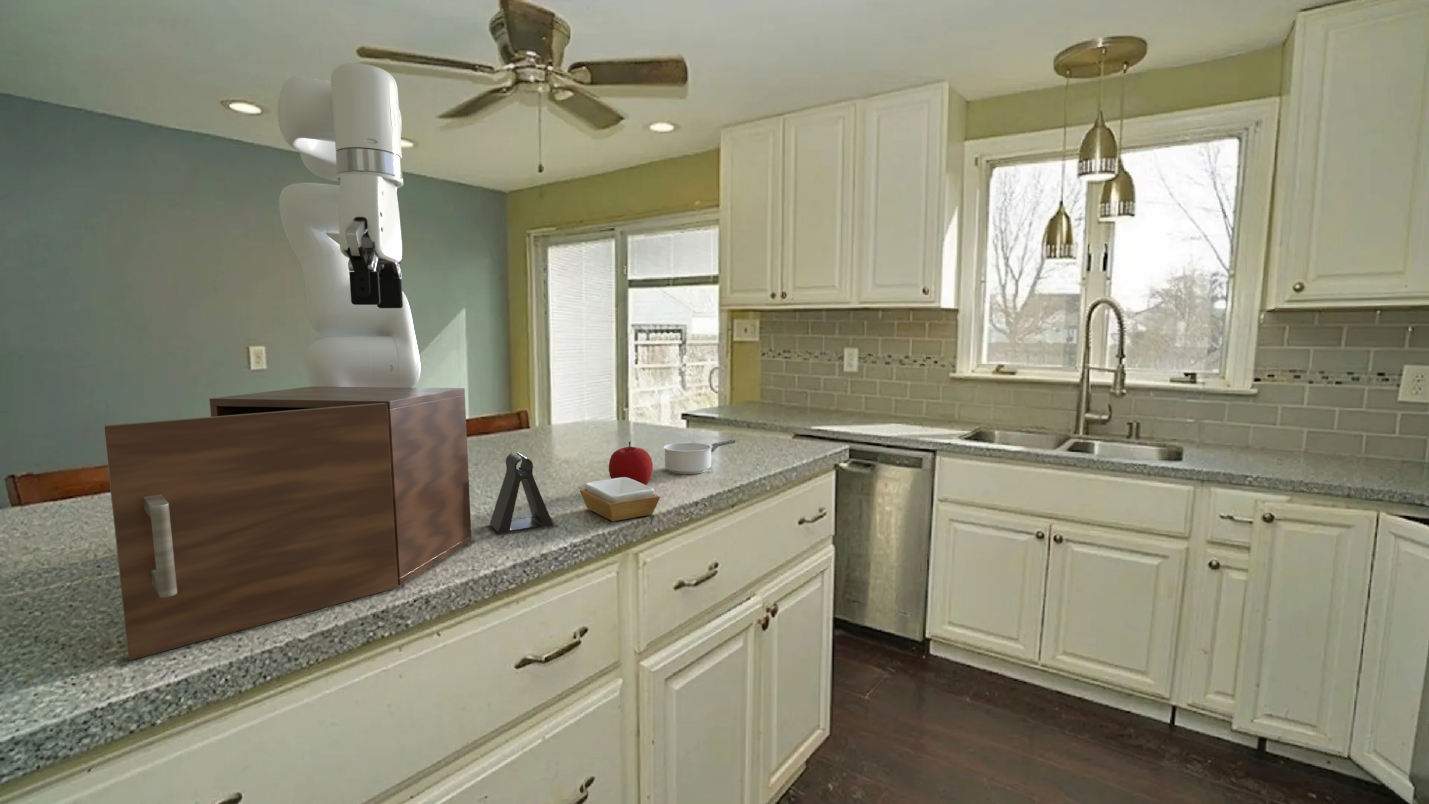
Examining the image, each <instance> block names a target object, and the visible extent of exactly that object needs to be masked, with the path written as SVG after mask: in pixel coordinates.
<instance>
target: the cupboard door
mask: <svg viewBox="0 0 1429 804" xmlns="http://www.w3.org/2000/svg"><path fill="white" fill-rule="evenodd" d="M103 435H104V444H105V453H106V463H107V471H108V480H109V490H110V499H111V508H112V509H111V510H112V517H113V527H114V528H113V529H114V536H115V537H114V538H115V546H116V556H117V565H118V573H119V583H120V593H121V602H122V611H123V621H124V622H123V623H124V630H125V631H124V632H125V640H126V649H127V658H128V660H129V661H134V660H137V659H142V658H144V657H149V656H152V655H157V654H159V653H163V652H166V651H170V650H174V649H178V648H181V647H185V646H189V645H192V644H197V643H200V642H204V641H207V640H210V639H215V638H218V637H222V636H226V635H229V634H232V633H236V632H241V631H245V630H248V629H251V628H255V627H259V626H263V625H265V624H270V623H273V622H277V621H281V620H284V619H288V618H291V617H295V616H299V615H303V614H307V613H310V612H313V611H317V610H321V609H325V608H328V607H332V606H336V605H339V604H343V603H347V602H350V601H354V600H358V599H361V598H365V597H369V596H372V595H376V594H380V593H383V592H387V591H391V590H394V589H398V588H399V585H398V581H397V564H396V547H395V530H394V513H393V496H392V479H391V462H390V445H389V428H388V412H387V404H386V403H377V404H364V405H352V406H339V407H327V408H314V409H302V410H289V411H277V412H264V413H252V414H240V415H227V416H215V417H211V416H202V417H191V418H179V419H167V420H154V421H143V422H131V423H130V422H129V423H117V424H116V423H115V424H105V425H103Z"/></svg>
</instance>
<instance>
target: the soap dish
mask: <svg viewBox="0 0 1429 804" xmlns="http://www.w3.org/2000/svg"><path fill="white" fill-rule="evenodd" d="M584 487H585V488H580V489H579V493H580V495H581V497H582V499H583V502H584V504H585V507H586V508H587V509H588V510H589V511H592V512H593V513H596V514H598V515H599V516H602V517H603V518H605V519H606V520H609V521H610V522H611V523H615V522H617V521H622V520H629V519H633V518H638V517H639V518H640V517H644V516H646V517H651V516H652V515H653V514H654V511H655V510H656V508H657V505H658V504H659V501H660V499H661V496H660V495H659V494H656V493H655V489H654V488H653V487H651V486H648V485H644V484H642V483H640V482H637V481H635V480H632V479H630V478H626V477H622V478H614V479H611V478H607V479H601V480H595V481H589V482H585V483H584Z"/></svg>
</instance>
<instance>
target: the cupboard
mask: <svg viewBox="0 0 1429 804" xmlns="http://www.w3.org/2000/svg"><path fill="white" fill-rule="evenodd" d="M377 403H386V404H387V412H388V428H389V445H390V462H391V479H392V496H393V513H394V530H395V547H396V564H397V581H398V586H400V585H403V584H404V583H407V582H408V581H409V580H411V579H413V578H414V577H416V576H417V575H419V574H420V573H422V572H424V571H426V570H427V569H429V568H430V567H432V566H434V565H435V564H437V563H439V562H440V561H442V560H443V559H445V558H447V557H448V556H450V555H452V554H453V553H455V552H456V551H458V550H460V549H461V548H463V547H464V546H466V545H468V544H470V543H471V542H472V518H471V499H470V497H471V496H470V476H469V455H468V452H469V451H468V434H467V432H468V431H467V412H466V411H467V409H466V389H465V388H464V387H411V388H401V387H313V386H312V387H311V386H304V387H295V388H285V389H278V390H271V391H270V390H269V391H262V392H261V391H260V392H253V393H244V394H236V395H235V394H234V395H229V396H219V397H211V398H209V410H210V411H209V412H210V417H215V416H227V415H240V414H252V413H264V412H277V411H289V410H302V409H314V408H327V407H339V406H352V405H364V404H377Z"/></svg>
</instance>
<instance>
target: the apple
mask: <svg viewBox="0 0 1429 804" xmlns="http://www.w3.org/2000/svg"><path fill="white" fill-rule="evenodd" d="M653 471H654V464H653V460H652V457H651V455H650V454H649V452H648V451H647V450H645V449H644V448H641V447H636V446H631V441H628V446H625V447H621V448H619V449H617V450H615V451H613V453H611V455H610V458H609V461H608V474H609V478H610V479H614V478H622V477H626V478H630V479H632V480H635V481H637V482H640V483H642V484H644V485H646V486H648V484H649V483H650V481H651V479H652V476H653Z"/></svg>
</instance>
